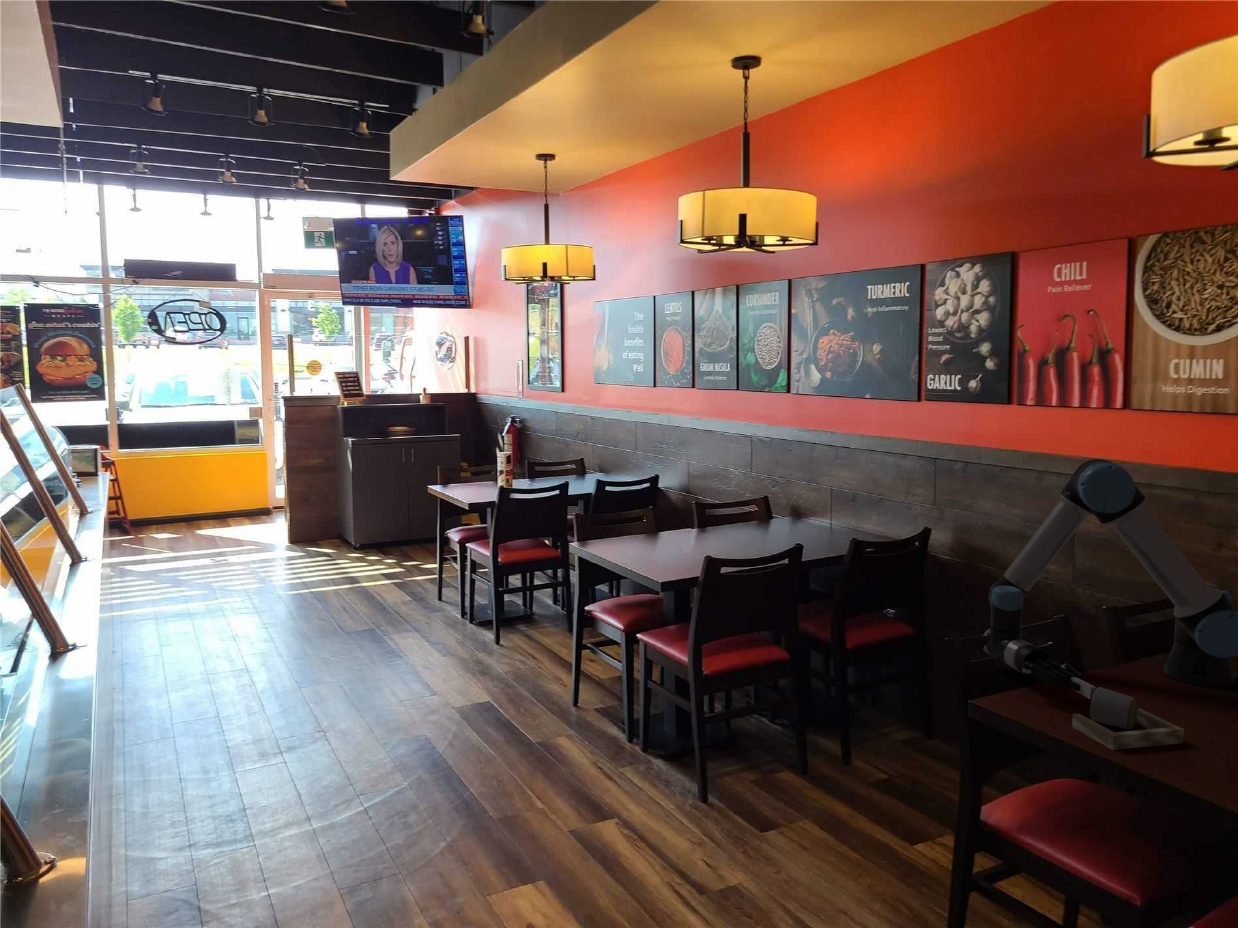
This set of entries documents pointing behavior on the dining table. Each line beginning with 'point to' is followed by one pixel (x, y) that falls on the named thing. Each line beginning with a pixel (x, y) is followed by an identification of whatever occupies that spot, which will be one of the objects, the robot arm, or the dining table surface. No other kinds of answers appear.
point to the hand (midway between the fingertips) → (1092, 692)
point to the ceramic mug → (1114, 709)
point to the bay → (1132, 732)
